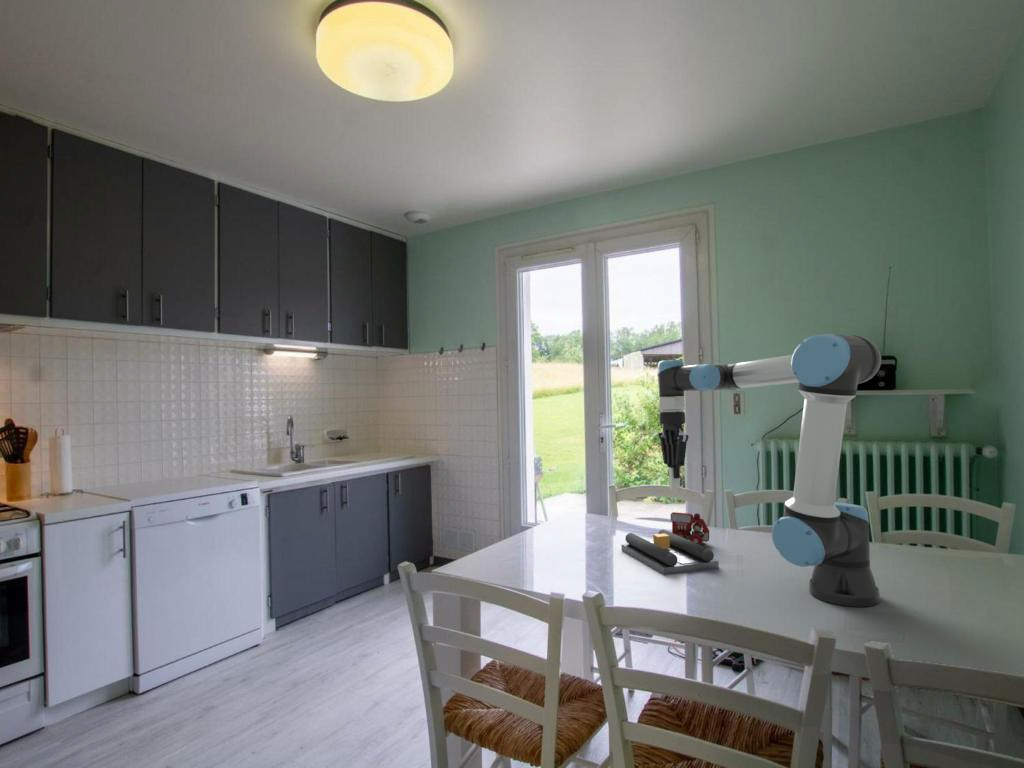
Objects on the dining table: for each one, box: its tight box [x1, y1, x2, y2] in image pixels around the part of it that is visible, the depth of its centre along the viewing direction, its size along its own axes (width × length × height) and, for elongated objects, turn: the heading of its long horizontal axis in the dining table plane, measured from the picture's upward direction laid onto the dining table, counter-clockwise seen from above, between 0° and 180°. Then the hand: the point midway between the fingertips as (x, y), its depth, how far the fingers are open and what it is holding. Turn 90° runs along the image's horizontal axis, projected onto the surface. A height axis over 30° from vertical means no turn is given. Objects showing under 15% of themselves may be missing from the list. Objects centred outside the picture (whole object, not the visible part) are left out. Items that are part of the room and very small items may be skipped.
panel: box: [621, 540, 720, 576], centre depth 173 cm, size 26×18×2 cm
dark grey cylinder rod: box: [625, 532, 678, 566], centre depth 171 cm, size 28×4×4 cm, turn 16°
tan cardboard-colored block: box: [652, 533, 670, 549], centre depth 176 cm, size 3×4×4 cm
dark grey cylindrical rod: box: [657, 529, 715, 561], centre depth 175 cm, size 28×4×4 cm, turn 16°
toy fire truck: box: [670, 511, 710, 546], centre depth 189 cm, size 7×12×10 cm, turn 64°
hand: (674, 488), depth 169 cm, fingers closed
